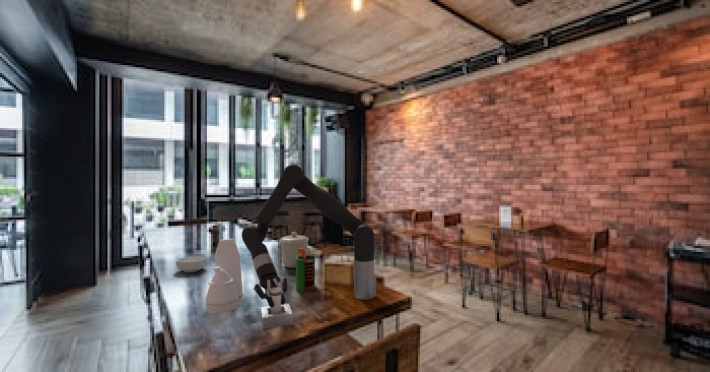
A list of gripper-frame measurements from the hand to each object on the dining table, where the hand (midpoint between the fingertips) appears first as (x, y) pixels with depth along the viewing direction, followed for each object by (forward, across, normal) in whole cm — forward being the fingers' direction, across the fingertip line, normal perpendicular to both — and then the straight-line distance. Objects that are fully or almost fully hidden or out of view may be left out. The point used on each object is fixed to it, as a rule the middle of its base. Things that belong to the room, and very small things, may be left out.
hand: (278, 305), depth 133 cm
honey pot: (-15, -12, +25) cm, 32 cm away
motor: (-14, +27, +24) cm, 39 cm away
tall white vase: (-27, -4, +37) cm, 46 cm away
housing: (+3, 0, +6) cm, 7 cm away
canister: (-43, +43, +53) cm, 81 cm away
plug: (+2, 0, +5) cm, 5 cm away
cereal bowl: (-65, -8, +75) cm, 99 cm away
